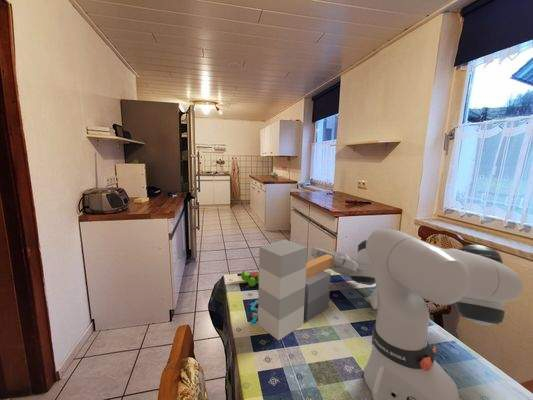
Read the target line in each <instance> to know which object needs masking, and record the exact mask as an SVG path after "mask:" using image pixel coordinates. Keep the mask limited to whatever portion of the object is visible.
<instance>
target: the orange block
mask: <svg viewBox="0 0 533 400" xmlns="http://www.w3.org/2000/svg"><path fill="white" fill-rule="evenodd" d="M333 262H334V260H332V255H329V254H326V255H323V256H321V257H318V258H314V259H311V260H309V261H306V279H308V278H310V277H312V276H314V275H316V274H318V273H320V272H322V271H326V270H328V269H330V267H333V266H334V264H333Z"/></svg>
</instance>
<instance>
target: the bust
mask: <svg viewBox="0 0 533 400" xmlns="http://www.w3.org/2000/svg"><path fill="white" fill-rule="evenodd" d="M368 300H369V303H370V306H371V307H372V309H373V310H377V304H378V297H377V288H374V290H373V292H372V293H371V294H370V297H369V299H368Z"/></svg>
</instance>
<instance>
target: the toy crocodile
mask: <svg viewBox="0 0 533 400" xmlns="http://www.w3.org/2000/svg"><path fill="white" fill-rule="evenodd" d="M241 280H243V282H244V281H245V282H247V284H248V285H249V286H250V287H255V286H256V285H257V284H258V285H259V271H252V272H251V273H250V272H247V271H246V269H243V270H242V271H241Z"/></svg>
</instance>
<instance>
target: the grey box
mask: <svg viewBox="0 0 533 400" xmlns="http://www.w3.org/2000/svg"><path fill="white" fill-rule="evenodd" d="M331 276H332V275H331V273H330V272H327V271H326V270H324V271H322V272H320V273H318V274H316V275H314V276H312V277H310V278H308V279H306V280H305V300H304V319H303V321H305V322H306V323H307V322H309V321H311V320H312V319H313V318H315V317H317V316H318V315H320V314H321V313H323V312H325V310H327V309H329V305H330V303H329V302H330V290H331V288H330V287H331Z"/></svg>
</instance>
